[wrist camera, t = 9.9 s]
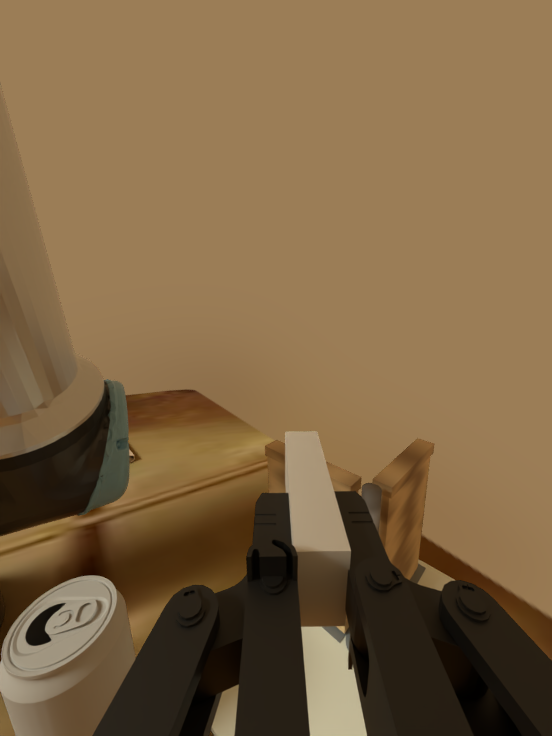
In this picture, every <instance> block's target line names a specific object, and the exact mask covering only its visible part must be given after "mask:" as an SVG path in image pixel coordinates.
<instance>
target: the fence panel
mask: <svg viewBox="0 0 552 736" xmlns="http://www.w3.org/2000/svg"><path fill="white" fill-rule="evenodd" d="M265 455H266V456H268V479H269V493H286V487H285V443H283V442H280V441H278V440H276V441H274V442H272V443H270V444H268V445H266V446H265ZM326 464H327V468H328V472H329V475H330V479H331V482H332V486H333V489H334V491H356V492H357V493H358V490H359V489H360V488H361V477H360V476H358V475H355V474H353V473H351V472H349V471H346V470H344V469H341V468H340V467H337V466H335V465H333V464H330V463H328V462H326ZM381 497H382V489H381V487H380V486H378V485H376V484H373V483H366V484H364V485H363V486H362V498H363V499H364V500H365V502H366V504H367V507H368V509H369V513H370V514H371V517H372V519H373V523H374V524H375V526H376V529H377V531H378V534H379V524H380V511H381ZM336 627H337V628H338V629H339V630H341V631H342V632H343V633H344V634H345V632H346V631H347V629H348V628H349V624H348V620H347V615H346V624H345V626H336Z"/></svg>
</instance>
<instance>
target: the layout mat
mask: <svg viewBox="0 0 552 736" xmlns="http://www.w3.org/2000/svg"><path fill="white" fill-rule="evenodd" d="M410 581H412V582H414V583H416V584H419V585H422V586H425V587H429V588H432V589H436V590H439V591H442V589H443V587H444V585H445V584H446V583H448V582H450V581H455V580H454V579H453V578H451V577H449V576H447V575H446V574H444V573H442V572H440V571H439V570H437V569H435V568H433V567H431V566H430V565H428V564H426V563H424V562H423V561H421V560H419V559H418V567H417V569H416V571H415V572H414V574H413V576H412V577H411V579H410ZM301 630H302V642H303V655H304V667H305V679H306V692H307V704H308V716H309V729H310V736H367V733H366V728H365V723H364V718H363V713H362V708H361V703H360V698H359V693H358V688H357V683H356V678H355V673H354V668H353V667H352V670H348V652H349V640H350V629H349V628H348V629H347V631H346V632H345V634H344V633H343V632H342V631H341V630H339V629H338V628H337V627H336V626H326V627H301ZM238 688H239V684H238V685H236V686H234V687H232V688H230V689H228V690H225V691H223V692H222V695H221V698H220V702H219V705H218V708H217V711H216V715H215V718H214V721H213V724H212V727H211V731H212V733H213V734H214V736H234V735H235V723H236V711H237V700H238Z"/></svg>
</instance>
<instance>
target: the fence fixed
mask: <svg viewBox="0 0 552 736" xmlns="http://www.w3.org/2000/svg"><path fill="white" fill-rule="evenodd" d="M433 451H434V443H431V442H427V441H424V440H421V439H416V440H415V441H414V442H413V443H412V444H411V445H410V446H408V447H407V448H406V449H405V450H404V451H403V452H402V453H401V454H400V455H399V456H397V458H395V459H394V460H393V461H392V462H391V463H390V464H389V465H388V466H386V467H385V468H384V469H383V470H382V471H381V472H380V473H379V474H378V475H377V476H376V477H375V478H373V484H376V485H378V486H380V487H381V489H382V497H381V511H380V524H379V536H380V539H381V541H382V543H383V546H384V548H385V551H386V553H387V556H388V558H389V560H390V562H391V563H392V564H393V565H394V566H395V567H396V568H398V569H399V570H400V571H401V573H402V574H403V576H404V577H405V578H407V579H408V580H410V579H411V577H412V576H413V574H414V572H415V571H416V569H417V567H418V559H419V550H420V542H421V533H422V524H423V516H424V507H425V498H426V489H427V481H428V471H429V463H430V456H431V455H432V454H433Z"/></svg>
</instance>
